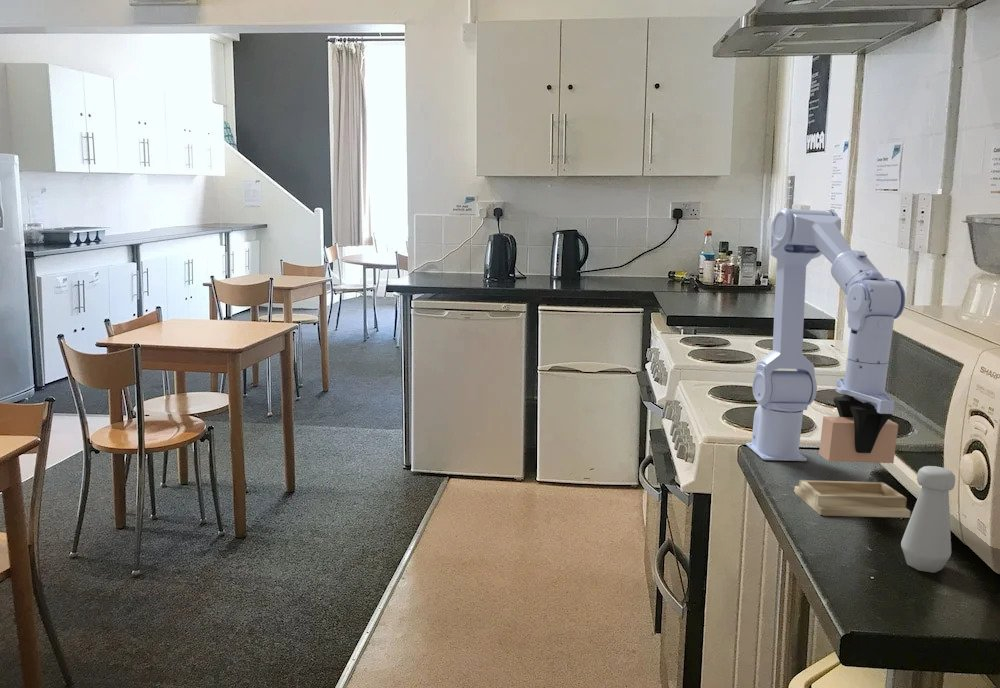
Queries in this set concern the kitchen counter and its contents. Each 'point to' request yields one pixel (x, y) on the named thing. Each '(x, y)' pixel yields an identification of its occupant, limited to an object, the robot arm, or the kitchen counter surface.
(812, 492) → the tray
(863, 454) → the clay block
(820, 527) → the kitchen counter surface
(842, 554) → the kitchen counter surface
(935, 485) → the salt shaker
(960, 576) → the kitchen counter surface
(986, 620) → the kitchen counter surface
